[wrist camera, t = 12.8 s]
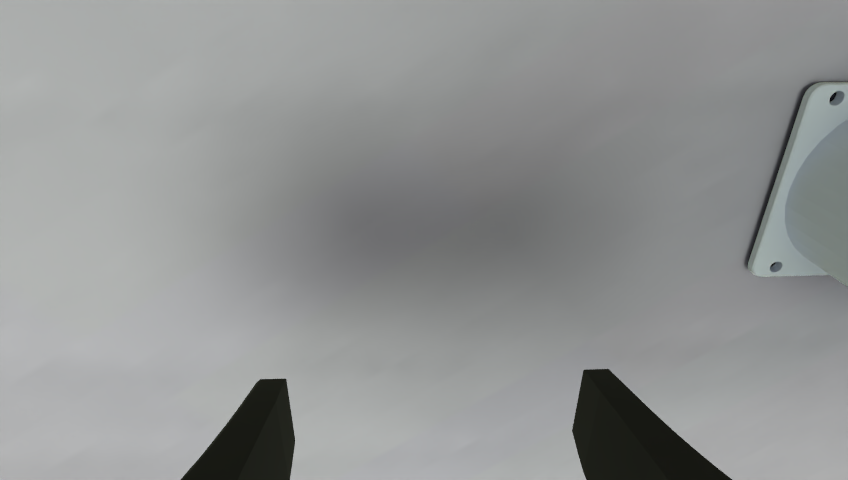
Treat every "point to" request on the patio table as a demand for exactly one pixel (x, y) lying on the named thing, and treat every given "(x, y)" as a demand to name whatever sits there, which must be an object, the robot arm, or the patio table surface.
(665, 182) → the patio table surface
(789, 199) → the robot arm
